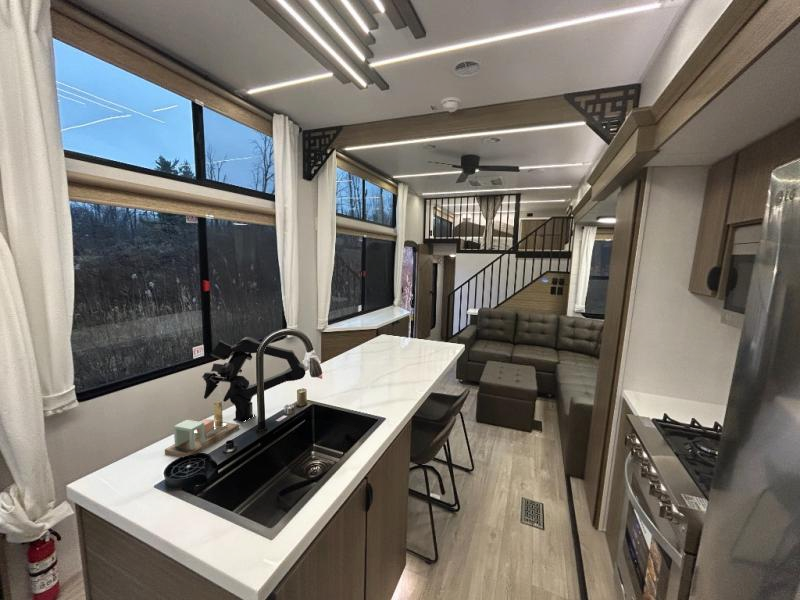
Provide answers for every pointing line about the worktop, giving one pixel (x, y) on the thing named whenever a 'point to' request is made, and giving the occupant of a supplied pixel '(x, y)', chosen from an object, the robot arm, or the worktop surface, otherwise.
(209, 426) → the terracotta block
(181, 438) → the tunnel
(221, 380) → the robot arm
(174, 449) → the track board
